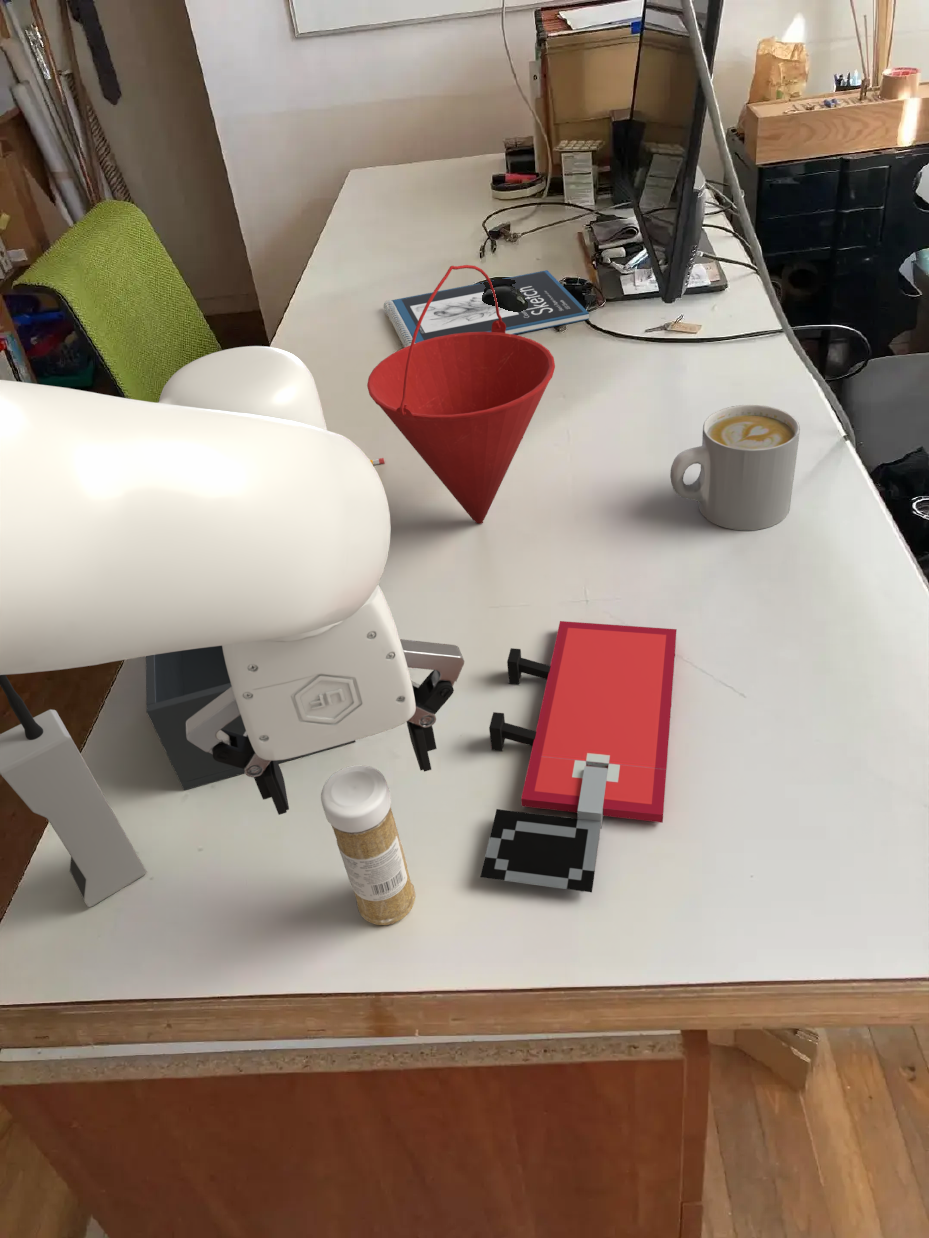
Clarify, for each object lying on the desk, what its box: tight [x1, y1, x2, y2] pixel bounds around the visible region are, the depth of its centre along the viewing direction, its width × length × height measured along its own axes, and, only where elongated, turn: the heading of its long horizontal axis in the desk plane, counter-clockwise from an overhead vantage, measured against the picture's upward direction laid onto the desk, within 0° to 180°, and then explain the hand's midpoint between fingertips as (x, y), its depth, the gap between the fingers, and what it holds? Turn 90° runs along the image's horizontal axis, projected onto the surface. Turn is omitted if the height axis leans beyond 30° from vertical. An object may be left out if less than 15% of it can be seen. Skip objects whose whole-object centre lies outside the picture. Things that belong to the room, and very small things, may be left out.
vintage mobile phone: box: [0, 675, 148, 908], centre depth 68 cm, size 4×5×25 cm
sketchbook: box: [383, 269, 590, 348], centre depth 155 cm, size 22×30×2 cm
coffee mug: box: [669, 404, 801, 531], centre depth 102 cm, size 13×10×10 cm
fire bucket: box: [366, 264, 556, 525], centre depth 99 cm, size 22×20×30 cm
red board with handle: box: [479, 620, 677, 893], centre depth 80 cm, size 30×3×15 cm
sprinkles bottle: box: [320, 764, 416, 926], centre depth 67 cm, size 5×5×13 cm
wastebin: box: [145, 646, 356, 791], centre depth 88 cm, size 22×16×10 cm
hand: (352, 776), depth 62 cm, fingers open, 9 cm apart
